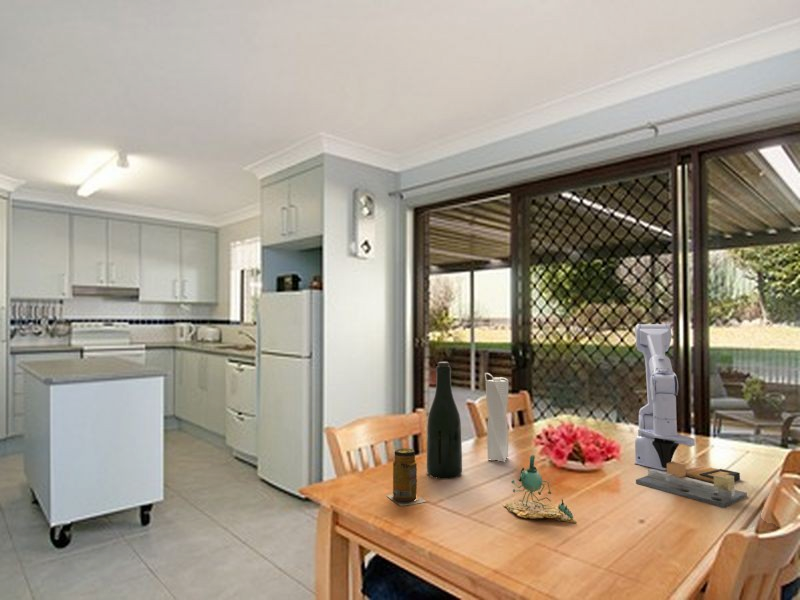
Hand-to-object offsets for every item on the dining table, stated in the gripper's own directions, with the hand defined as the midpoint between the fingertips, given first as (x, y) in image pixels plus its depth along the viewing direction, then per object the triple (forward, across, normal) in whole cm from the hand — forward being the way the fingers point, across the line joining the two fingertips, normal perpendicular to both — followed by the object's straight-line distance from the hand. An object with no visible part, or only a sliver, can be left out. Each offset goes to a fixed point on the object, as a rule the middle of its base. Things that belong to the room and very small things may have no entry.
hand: (666, 467), depth 136 cm
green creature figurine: (+5, -6, -46) cm, 47 cm away
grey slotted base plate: (+4, +6, 0) cm, 7 cm away
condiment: (+5, -32, -66) cm, 73 cm away
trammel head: (+2, +3, -2) cm, 4 cm away
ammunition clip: (+3, +10, +15) cm, 18 cm away
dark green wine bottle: (+5, -42, -45) cm, 61 cm away
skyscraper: (+5, -44, -21) cm, 49 cm away
